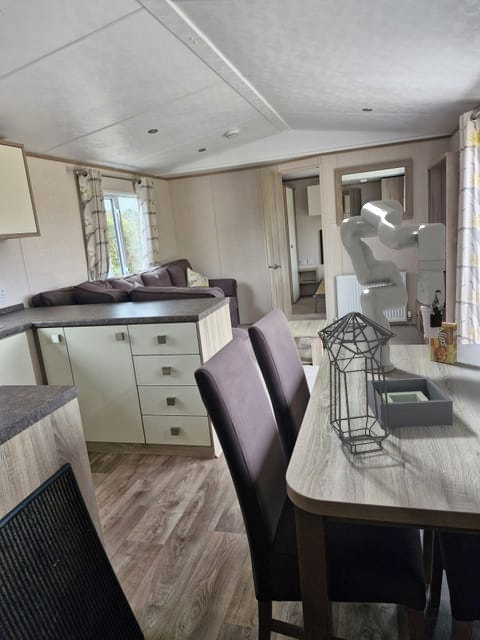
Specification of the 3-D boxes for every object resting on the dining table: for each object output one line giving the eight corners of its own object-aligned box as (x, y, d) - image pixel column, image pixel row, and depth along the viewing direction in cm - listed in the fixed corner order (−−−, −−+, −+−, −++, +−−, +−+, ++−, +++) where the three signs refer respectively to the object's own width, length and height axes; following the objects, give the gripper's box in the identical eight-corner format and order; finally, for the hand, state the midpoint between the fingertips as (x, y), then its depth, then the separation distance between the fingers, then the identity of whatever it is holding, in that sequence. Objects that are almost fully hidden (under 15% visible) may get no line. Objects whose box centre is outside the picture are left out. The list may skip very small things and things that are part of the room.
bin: (366, 401, 139) (366, 380, 138) (428, 398, 137) (428, 377, 136) (381, 428, 121) (380, 404, 119) (452, 425, 119) (452, 401, 117)
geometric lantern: (340, 463, 105) (331, 321, 99) (323, 435, 121) (314, 310, 114) (404, 454, 106) (398, 313, 100) (378, 427, 121) (372, 304, 115)
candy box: (457, 361, 169) (457, 322, 165) (452, 364, 166) (453, 325, 163) (434, 358, 175) (434, 320, 172) (429, 360, 172) (429, 323, 169)
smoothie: (445, 338, 131) (446, 292, 128) (422, 339, 132) (422, 294, 129) (439, 333, 137) (440, 289, 134) (418, 334, 138) (418, 290, 135)
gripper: (408, 264, 139) (409, 319, 142) (429, 269, 122) (429, 332, 125) (433, 262, 138) (433, 318, 142) (457, 267, 121) (456, 330, 125)
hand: (431, 324), depth 133 cm, fingers closed on smoothie, 6 cm apart
